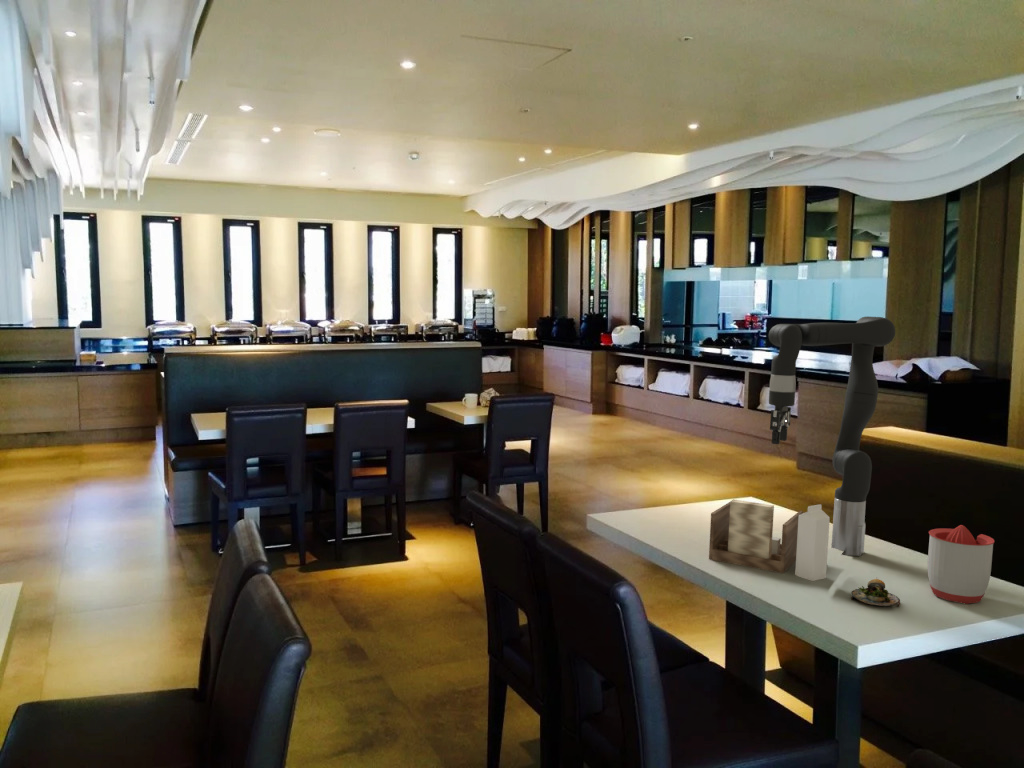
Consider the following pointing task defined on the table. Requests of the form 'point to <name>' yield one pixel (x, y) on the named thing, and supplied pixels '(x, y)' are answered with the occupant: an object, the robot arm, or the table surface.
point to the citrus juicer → (959, 564)
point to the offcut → (775, 545)
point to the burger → (875, 594)
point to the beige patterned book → (750, 528)
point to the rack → (720, 553)
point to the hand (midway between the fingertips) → (779, 442)
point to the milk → (812, 544)
